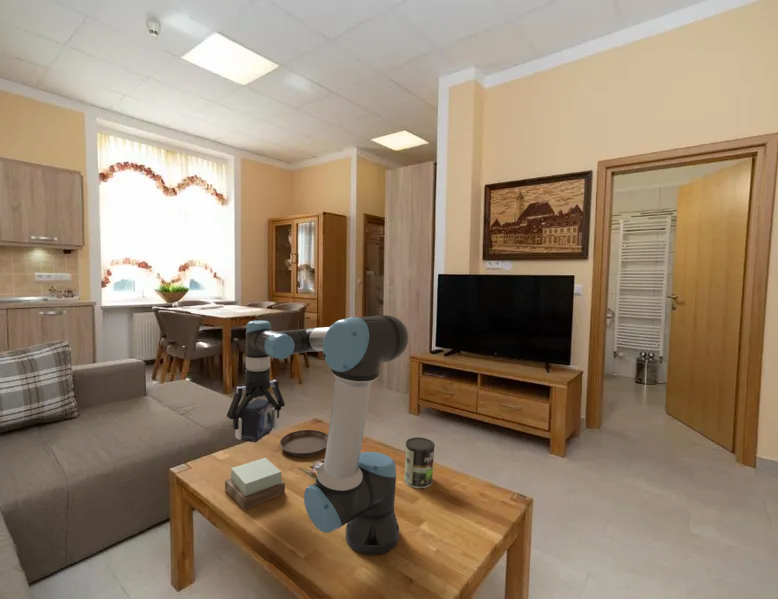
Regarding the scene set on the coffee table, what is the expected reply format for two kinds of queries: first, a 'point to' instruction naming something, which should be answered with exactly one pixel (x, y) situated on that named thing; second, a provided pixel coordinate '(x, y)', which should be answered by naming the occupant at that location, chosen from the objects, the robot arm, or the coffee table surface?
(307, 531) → the coffee table surface
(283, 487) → the base slab
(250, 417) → the small box
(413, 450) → the coffee can
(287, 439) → the plant saucer
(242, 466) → the top slab
